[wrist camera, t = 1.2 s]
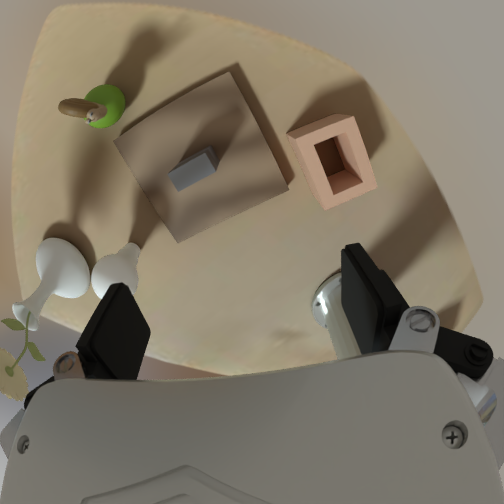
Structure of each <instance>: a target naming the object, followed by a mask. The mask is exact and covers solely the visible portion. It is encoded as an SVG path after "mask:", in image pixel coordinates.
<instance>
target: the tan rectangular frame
mask: <svg viewBox="0 0 504 504" xmlns="http://www.w3.org/2000/svg"><path fill="white" fill-rule="evenodd" d="M286 135H287V137H288V139H289V141H290V144H291V146H292V148H293V150H294V152H295V155H296V157H297V159H298V161H299V163H300V166H301V168H302V170H303V173H304V175H305V177H306V180H307V182H308V184H309V187H310V189H311V191H312V194H313V195H314V196H315V198H316V199H317V200H318V202H319V203H320V204H321V206H322V207H323V208H324V210H325V211H326V210H328V209H330V208H332V207H335V206H337V205H339V204H341V203H344V202H346V201H348V200H351V199H353V198H355V197H357V196H360V195H362V194H364V193H366V192H369V191H371V190H373V189H376V188H378V187H377V184H376V180H375V177H374V174H373V170H372V167H371V164H370V161H369V158H368V155H367V152H366V149H365V146H364V143H363V140H362V137H361V134H360V132H359V129H358V126H357V123H356V121H355V118H354V116H350V115H343V114H333V115H330V116H327V117H325V118H322V119H320V120H317V121H315V122H312V123H310V124H307V125H305V126H302V127H300V128H298V129H295V130H293V131H290V132H288V133H286ZM332 137H333V139H334V141H335V144H336V146H337V149H338V152H339V154H340V157H341V160H342V162H343V165H344V168H345V170H343V171H340V172H338V173H336V174H333V175H331V176H329V177H326V174H325V172H324V169H323V167H322V164H321V162H320V159H319V157H318V154H317V152H316V150H315V147H314V145H315V144H317V143H320V142H322V141H324V140H327V139H329V138H332Z"/></svg>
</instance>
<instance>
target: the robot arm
mask: <svg viewBox="0 0 504 504" xmlns="http://www.w3.org/2000/svg"><path fill="white" fill-rule="evenodd" d="M312 312H313V316H314V318H315V320H316V322H317V323H318V324H319V325H321V326H322V327H324V328H326V329H328V331H329V334H330V337H331V340H332V343H333V346H334V349H335V352H336V355H337V359H338V360H333V361H328V362H323V363H317V364H312V365H306V366H300V367H294V368H288V369H282V370H275V371H268V372H260V373H252V374H243V375H233V376H223V377H212V378H211V377H210V378H195V379H173V380H137V377H138V373H139V370H140V366H141V363H142V360H143V357H144V353H145V350H146V347H147V344H148V341H149V338H150V333H151V332H150V328H149V326H148V324H147V322H146V320H145V318H144V317H143V315H142V313H141V311H140V309H139V307H138V305H137V303H136V301H135V299H134V297H133V295H132V293H131V291H130V289H129V287H128V286H127V285H125V284H124V283H123V282H120V283H114V284H111V285H110V286H109V288H108V289H107V291H106V293H105V294H104V296H103V298H102V299H101V301H100V303H99V304H98V306H97V308H96V310H95V311H94V313H93V315H92V317H91V318H90V320H89V322H88V324H87V326H86V327H85V329H84V331H83V333H82V335H81V337H80V339H79V340H78V342H77V344H76V348H77V349H78V350H79V352H78V354H77V353H76V352H73V351H69V352H66V353H63V354H62V355H61V356H59V357H58V359H57V360H56V361H55V363H54V366H53V374H54V376H52V377H51V378H50V379H48V380H47V381H45V382H44V383H42V384H41V385H39V386H38V387H36V388H35V389H34V390H32V391H31V392H29V393H28V394H27V396H26V399H25V402H24V408H25V410H23V409H21V410H20V411H19V412H18V413H17V414H16V415H15V416H14V418H13V419H12V420H11V421H10V422H9V423H8V424H7V426H6V427H5V428H4V429H3V431H2V432H1V435H0V444H1V446H2V448H3V450H4V452H5V454H6V456H7V458H8V463H7V467H6V471H5V476H4V481H3V486H2V492H1V498H0V504H504V492H503V487H502V482H501V478H500V474H499V469H500V467H501V466H502V464H503V462H504V360H503V359H501V358H500V357H499V358H498V360H497V359H495V358H494V357H493V351H492V349H491V347H490V346H489V345H488V344H487V343H486V342H485V341H483V340H481V339H478V338H475V337H472V336H468V335H465V334H462V333H459V332H456V331H453V330H450V329H447V328H444V327H441V326H440V320H439V317H438V315H437V314H436V313H435V312H434V311H433V310H431V309H429V308H427V307H423V306H414V307H411V308H410V307H409V305H408V304H407V302H406V301H405V299H404V298H403V296H402V295H401V294H400V292H399V291H398V289H397V288H396V286H395V285H394V283H393V282H392V281H391V279H390V278H389V276H388V275H387V274H386V272H385V271H384V270H379V269H378V268H377V266H376V265H375V263H374V262H373V261H372V259H371V258H370V257H369V255H368V254H367V252H366V251H365V250H364V248H363V247H362V246H361V244H360V243H354V244H349V245H346V246H345V249H342V250H341V272H340V273H338V274H336V275H334V276H332V277H330V278H329V279H328V280H327V281H325V282H324V283H323V284H322V285H321V286H320V287H319V289H318V290H317V292H316V293H315V295H314V298H313V301H312Z"/></svg>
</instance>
